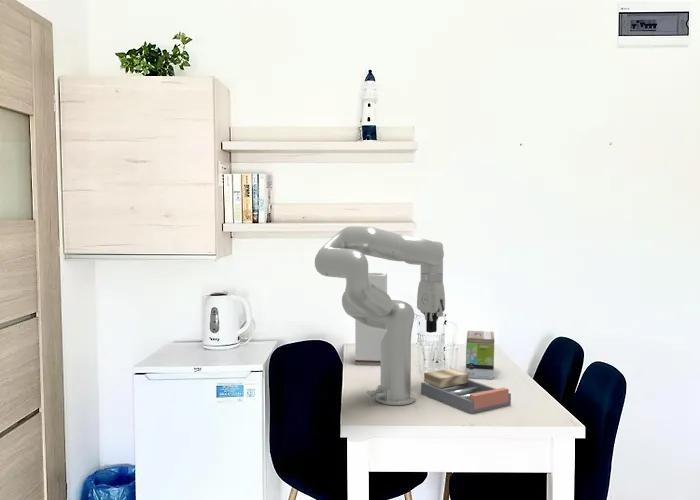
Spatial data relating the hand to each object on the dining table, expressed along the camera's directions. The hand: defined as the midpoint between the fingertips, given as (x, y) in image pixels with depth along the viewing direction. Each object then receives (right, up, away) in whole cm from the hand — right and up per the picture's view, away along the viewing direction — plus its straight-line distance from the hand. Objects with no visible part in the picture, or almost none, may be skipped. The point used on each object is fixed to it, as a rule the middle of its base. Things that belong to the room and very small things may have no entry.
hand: (431, 331), depth 211 cm
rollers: (+8, -18, -13) cm, 24 cm away
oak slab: (+4, -16, -6) cm, 17 cm away
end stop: (+14, -19, -23) cm, 33 cm away
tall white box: (-19, -17, +35) cm, 43 cm away
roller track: (+9, -20, -13) cm, 25 cm away
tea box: (+20, -18, +18) cm, 32 cm away
